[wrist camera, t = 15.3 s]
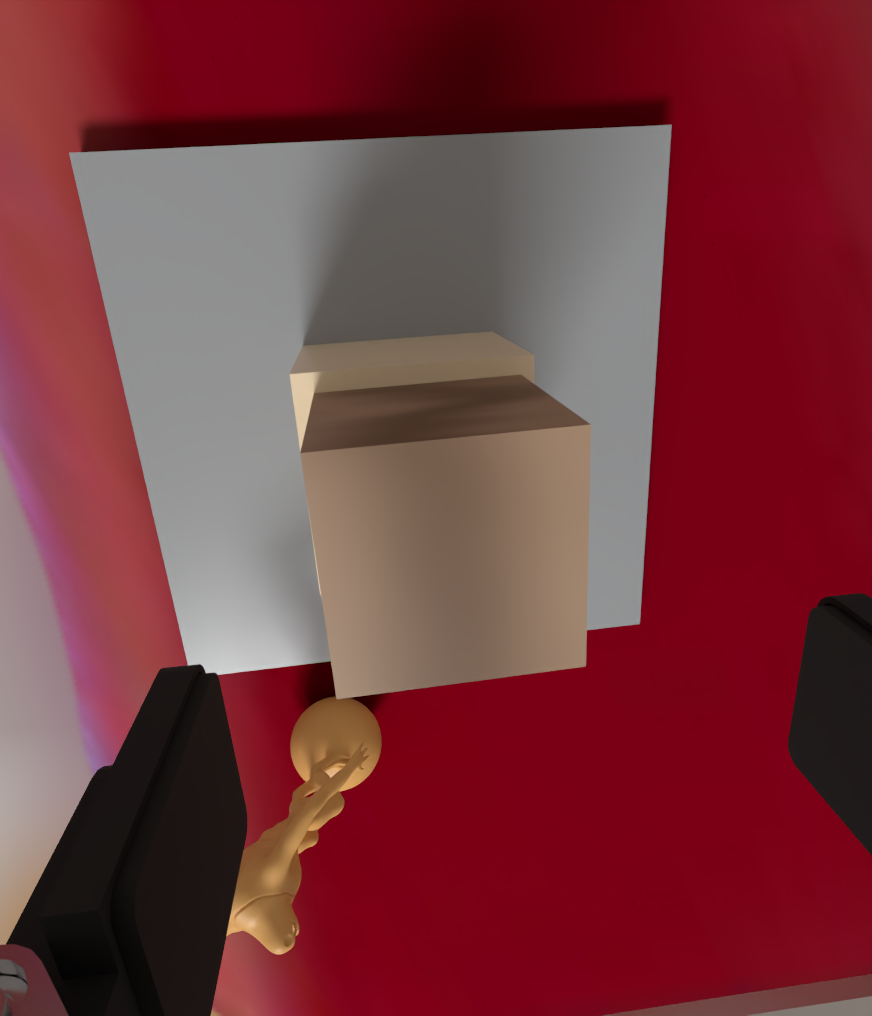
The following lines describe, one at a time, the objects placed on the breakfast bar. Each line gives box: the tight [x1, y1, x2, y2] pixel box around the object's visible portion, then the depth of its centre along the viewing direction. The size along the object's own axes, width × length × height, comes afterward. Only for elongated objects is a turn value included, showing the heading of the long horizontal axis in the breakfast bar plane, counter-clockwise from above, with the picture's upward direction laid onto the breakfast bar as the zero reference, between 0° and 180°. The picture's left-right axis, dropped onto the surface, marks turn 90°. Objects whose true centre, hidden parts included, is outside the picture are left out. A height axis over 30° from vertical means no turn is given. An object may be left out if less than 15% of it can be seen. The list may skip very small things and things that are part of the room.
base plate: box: [69, 125, 672, 675], centre depth 23 cm, size 20×20×7 cm
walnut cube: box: [300, 375, 591, 699], centre depth 17 cm, size 6×6×6 cm
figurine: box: [226, 697, 381, 954], centre depth 25 cm, size 8×6×12 cm
